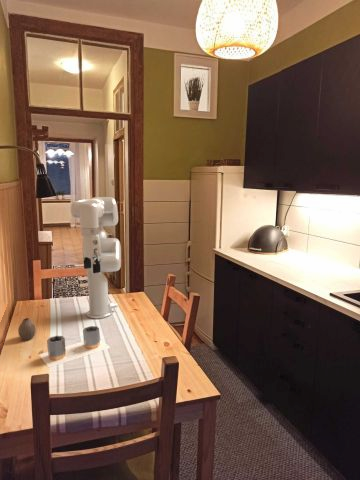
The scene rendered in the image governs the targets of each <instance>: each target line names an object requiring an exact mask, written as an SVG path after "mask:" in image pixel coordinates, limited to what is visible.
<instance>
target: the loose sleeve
mask: <svg viewBox="0 0 360 480" xmlns="http://www.w3.org/2000/svg"><path fill="white" fill-rule="evenodd" d="M90 331H91V332H90ZM82 334H83V336H82V337H83V341H84V347H85V348H86V349H95V348H98V347H99V345H100V339H101V338H100V327H98V326H92V325H91V326H87V327H86V326H85V327H84V329H83V331H82Z"/></svg>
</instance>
